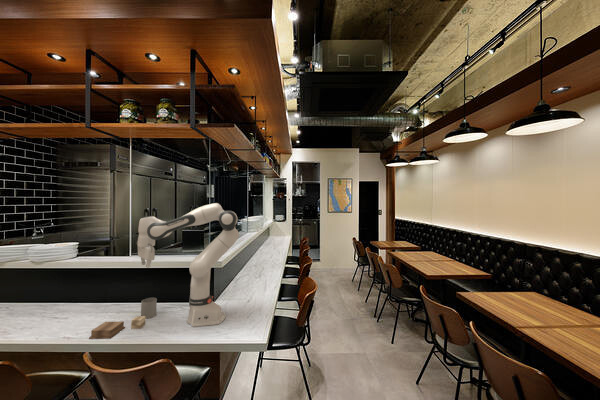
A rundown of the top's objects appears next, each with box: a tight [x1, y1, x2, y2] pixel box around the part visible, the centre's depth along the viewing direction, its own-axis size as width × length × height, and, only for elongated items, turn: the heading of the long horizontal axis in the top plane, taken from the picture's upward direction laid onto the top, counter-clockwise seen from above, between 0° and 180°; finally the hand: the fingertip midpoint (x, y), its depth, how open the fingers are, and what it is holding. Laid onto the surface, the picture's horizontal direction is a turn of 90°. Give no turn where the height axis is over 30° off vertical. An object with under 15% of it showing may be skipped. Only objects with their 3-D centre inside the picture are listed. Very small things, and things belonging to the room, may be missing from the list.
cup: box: [140, 297, 158, 320], centre depth 155 cm, size 8×8×10 cm
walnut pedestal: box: [88, 320, 126, 340], centre depth 133 cm, size 11×11×4 cm
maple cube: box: [130, 315, 146, 330], centre depth 141 cm, size 5×5×5 cm
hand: (145, 265), depth 146 cm, fingers open, 8 cm apart
